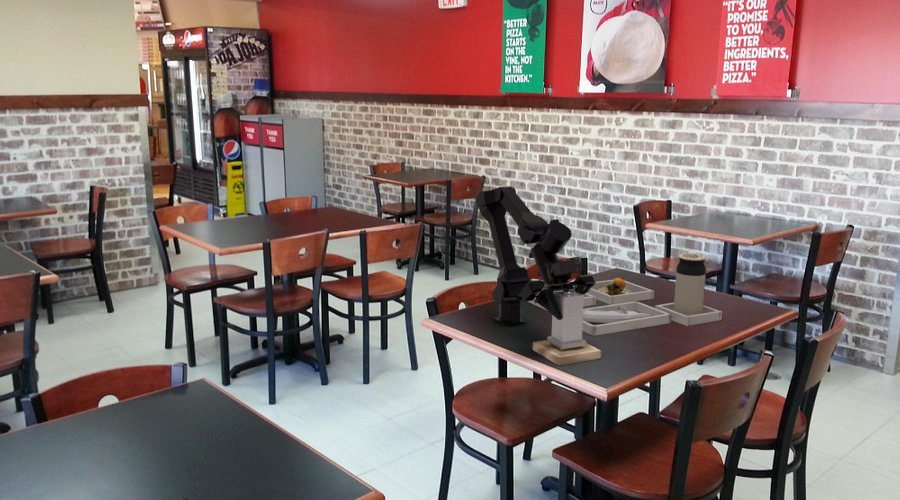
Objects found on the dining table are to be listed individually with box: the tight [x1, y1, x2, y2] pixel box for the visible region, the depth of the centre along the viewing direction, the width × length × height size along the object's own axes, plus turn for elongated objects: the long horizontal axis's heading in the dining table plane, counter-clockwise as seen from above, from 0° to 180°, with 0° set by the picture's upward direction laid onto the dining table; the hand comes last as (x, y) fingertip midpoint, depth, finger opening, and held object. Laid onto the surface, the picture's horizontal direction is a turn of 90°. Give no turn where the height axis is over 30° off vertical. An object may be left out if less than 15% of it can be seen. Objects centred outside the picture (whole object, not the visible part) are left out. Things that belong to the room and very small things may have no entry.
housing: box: [546, 290, 587, 349], centre depth 179 cm, size 6×7×13 cm
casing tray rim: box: [582, 301, 672, 337], centre depth 207 cm, size 15×27×2 cm, turn 116°
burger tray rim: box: [587, 279, 655, 305], centre depth 235 cm, size 17×17×2 cm
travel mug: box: [673, 253, 707, 316], centre depth 210 cm, size 8×8×18 cm
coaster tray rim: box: [526, 293, 597, 312], centre depth 227 cm, size 17×17×2 cm
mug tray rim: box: [654, 302, 723, 327], centre depth 212 cm, size 13×13×2 cm
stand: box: [532, 339, 602, 366], centre depth 181 cm, size 12×12×2 cm
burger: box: [596, 274, 634, 296], centre depth 234 cm, size 12×12×8 cm
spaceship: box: [583, 306, 651, 324], centre depth 208 cm, size 23×7×4 cm, turn 103°
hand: (570, 317), depth 178 cm, fingers open, 6 cm apart
